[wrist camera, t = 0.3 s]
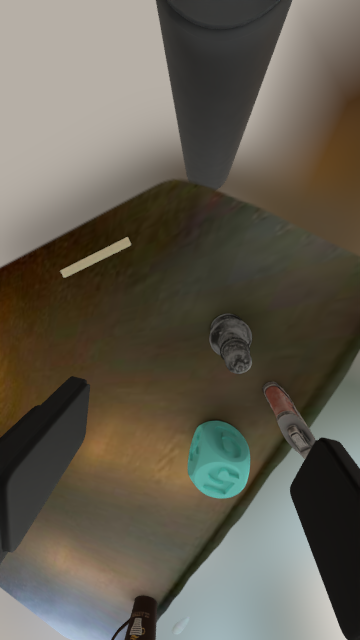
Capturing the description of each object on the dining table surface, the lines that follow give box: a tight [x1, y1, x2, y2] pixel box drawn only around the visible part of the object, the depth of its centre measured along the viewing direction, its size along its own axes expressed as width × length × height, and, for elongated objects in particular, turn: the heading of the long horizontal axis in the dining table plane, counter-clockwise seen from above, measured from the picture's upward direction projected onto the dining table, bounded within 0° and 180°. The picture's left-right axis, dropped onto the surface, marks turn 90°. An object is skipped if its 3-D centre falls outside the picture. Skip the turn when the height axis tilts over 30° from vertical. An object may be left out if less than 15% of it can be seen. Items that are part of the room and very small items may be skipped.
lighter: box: [263, 382, 316, 459], centre depth 31 cm, size 8×3×10 cm, turn 37°
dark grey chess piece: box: [209, 314, 252, 374], centre depth 27 cm, size 6×6×12 cm
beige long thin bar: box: [61, 237, 131, 278], centre depth 31 cm, size 12×1×1 cm, turn 113°
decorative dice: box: [188, 421, 250, 498], centre depth 36 cm, size 8×8×8 cm
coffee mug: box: [111, 596, 157, 640], centre depth 55 cm, size 12×9×10 cm
